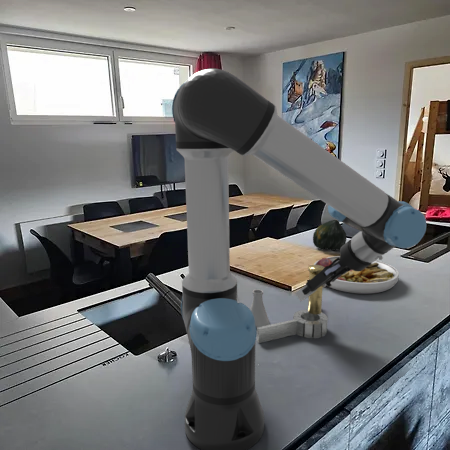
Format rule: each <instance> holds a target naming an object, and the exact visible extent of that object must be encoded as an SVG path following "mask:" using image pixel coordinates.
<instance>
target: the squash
mask: <svg viewBox="0 0 450 450" xmlns="http://www.w3.org/2000/svg"><path fill="white" fill-rule="evenodd" d="M312 243H313V245H314V247H316V248H317V249H319V248H320V250H327V251H328V250H331V251H332V250H333V251H340V248H341V247H342V246H343V245H344V244H345V243H347V233H346V231H345V229H344V228H343V226H342V224H341V222H339V221H338V220H337V219H332V220H329V221H326V222H324V223H322V224H320V225H319V226H317V228H315V230H314V231H313V235H312Z"/></svg>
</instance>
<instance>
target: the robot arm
mask: <svg viewBox="0 0 450 450" xmlns="http://www.w3.org/2000/svg"><path fill="white" fill-rule="evenodd" d="M171 115H172V118H173V122H174V125H175V128H174V130H175V148H176V150H175V151H176V152H178V153H179V154H180V155H181V156H182V157H183V158H184V159H183V160H184V179H185V182H184V183H185V203H186V207H185V208H186V209H185V210H186V230H187V231H186V232H187V251H188V252H187V255H188V258H187V259H188V260H187V261H188V273H187V274H186V275H185V277H184V278H183V279H182V281H181V287H182V289H181V290H182V297H181V300H180V301H181V303H180V313H181V317H182V320H183V323H184V328H185V331H186V335H187V339H188V344H189V348H190V354H191V371H192V372H191V374H192V375H191V377H192V378H191V379H192V390H191V394H190V397H189V399H188V403H187V406H186V409H185V412H184V431H185V434H186V437H187V439H188V440H189V441H190V442H191V444H193V445H194V446H195V447H196V448H197V449H199V450H249V449H250V448H253V446H255V445H256V444H257V443H258V441H260V439H261V438H262V436H263V434H264V430H265V412H264V408H263V406H262V403H261V400H260V398H259V395H258V392H257V390H256V342H257V328H256V325H255V319H254V315H253V313H252V312H251V310H250V308H249V307H248V306H247V305H246V304H245V303H242V302H238V279H237V277H236V275H234V274H233V273H232V272H231V271H230V269H231V268H230V267H231V266H230V265H231V264H230V263H231V262H230V261H231V260H230V259H231V257H230V256H231V255H230V254H231V253H230V199H229V198H230V197H229V196H230V195H229V192H230V191H229V189H230V188H229V183H230V182H229V181H230V180H229V158H230V156H231V155H232V154H233V153H234V152H235V153H237V154H239V155H241V156H242V157H245V156H250V155H251V156H253V157H254V158H256V159H257V160H259V161H260V162H262V163H264V164H265V165H267V166H268V167H269V168H271V169H273V170H274V171H275V172H278V173H279V174H280V175H282V176H283V177H285V178H287V179H289V180H290V181H292V182H293V183H294V184H295V185H297V186H299V187H300V188H302V189H303V190H304V191H306V192H308V193H310V194H311V195H312V196H314V197H315V198H317V199H318V200H320V201H322V202H323V203H324V204H326V205H327V211H328V212H327V213H328V215H329V216H330V217H332V218H333V219H334V220H337V221H339V223H343V224H345V225H347V226H349V227H351V228H352V229H355V230H358V231H359V232H357V233H355V235H354V236H352V237H351V239H349V240H347V241H346V243H345V244H344V245H343V246H342V247H341V248H340V250H339V256H340V258H337V259H335V260H334V261H333V263H332V264H330V265H329V266H326V267H325V268H324V269H323V270H322V271H321V272H320V273H318V274H317V275H316V276H315V277H313V278H312V279H311V280H310V279H309V278H308V279H307V280H306V283H305V285H304V286H302V288H300V289H299V290H298V291H296V292H295V295H296V297H297V299H298V300H299V302H300V303H301V302H303V301H304V300H306V299H308V297H309V296H310V295H311V294H312V293H314V292H315V291H317V289H318V288H319V287H321V286H322V285H323V287H322V290H323V289H324V288H325V287H326V285H327V287H328V288H330V286H331V284H330V283H331V282H334V281H335V280H336V279H337V278H339V277H340V276H342V275H343V274H345V273H346V272H348V271H350V270H354V271H362V270H363V269H365V268H366V267H368V266H369V265H370V264H371V263H372V262H374V261H376V260H378V261H382V260H383V259H384V257H383V256H384V255H385V254H386V253H388V252H390V251H391V250H393V249H394V248H401V249H410V248H412V247H414V246H416V245H418V243H419V242H420V241H421V240H422V239H423V237H424V236H425V234H426V231H427V221H426V216H425V215H424V213H423V212H421V211H420V210H419V209H417V208H415V207H413V206H412V205H411V204H409V203H408V202H406V201H403V200H402V201H399V200H397V199H396V198H394V197H392V196H391V195H389V194H388V193H387V192H385V191H384V190H383V189H381V188H380V187H378V186H377V185H376V184H374V183H373V182H371V181H370V180H368V179H367V178H365V177H364V176H363V175H362V174H360V173H359V172H358V171H356V170H355V169H354V168H352V167H350V166H349V165H348V164H346V163H345V162H343V161H342V160H340V159H339V158H338V157H336V156H335V155H333V154H332V153H330V151H328V150H327V149H325V148H324V147H323V146H321V145H320V144H318V143H317V142H315V141H314V140H312V139H311V138H310V137H309V136H307V135H306V134H305V133H303V132H301V131H300V130H299V129H297V128H296V127H295V126H294V125H292V124H290V123H289V122H287V120H285V119H283V118H282V117H280V115H278V109H277V106H276V105H275V104H274V103H272V102H271V101H270V100H268V99H266V98H265V97H264V96H263V95H262V94H260V93H259V92H258V91H256V90H255V89H253V88H252V87H251V86H250V85H248V84H247V83H246V82H245V81H243V80H242V79H241V78H238V76H236V75H234V74H233V73H231V72H229V71H226V70H225V69H219V68H207V69H206V68H205V69H201V70H199V71H197V72H195V73H194V74H192V75H191V76H189V77H188V78H187V79H186V81H184V82H183V83H182V84H181V85H180V86H179V87H178V89H177V90H176V91H175V94H174V97H173V99H172V103H171ZM325 284H326V285H325Z"/></svg>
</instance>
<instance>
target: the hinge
mask: <svg viewBox="0 0 450 450" xmlns="http://www.w3.org/2000/svg"><path fill="white" fill-rule="evenodd" d="M328 318H329V317H328V316H327V315H326V314H325V313H324V312H322V311H321V313H320V314H311V313H309V312H308V309H301V310H298V311H295V312H294V313H293V319H290V320H286V321H285V320H284V321H282V322H277V323H271V324H270V325H267V326H262V327H258V328H256V332H257V335H256V343H258V344H261V343H265V342H269V341H274V340H278V339H282V338H283V339H284V338H286V337H291V336H294V335H295V336H296V335H297V336H298V337H299V336H300V337H303V338H305V339H319V338H324V337H325V336H327V333H328V322H329V321H328V320H329V319H328Z"/></svg>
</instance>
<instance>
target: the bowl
mask: <svg viewBox="0 0 450 450" xmlns="http://www.w3.org/2000/svg"><path fill="white" fill-rule="evenodd" d="M337 258H340V255H337V256H329V257H321V259H318V260H316V261H315V262H314V263H313V265H321V266H324V267H326V266H329V265H330V264H332V263H333V261H334V260H335V259H337ZM399 277H400V272H399V270H398V269H397V268H396V267H394V266H393V265H391V264H389V263H387V262H384V261H382V260H379V259H377V260H376V261H374V262H372V263H371V264H370V265H369V266H368V267H366V268H365V269H363V270H362V271H354V270H350V271H348V272H346V273H345V274H343V275H342V276H340V277H339V278H337V279H336V280H335V281H334V282H331V283H330V284H331V286H330V287H329V288H330V289H333V290H337V291H340V292H345V293H351V294H362V295H364V294H366V295H367V294H370V295H371V294H377V293H381V292H382V293H383V292H385V291H389V290H390V289H392V288H393V287H394V286H395V285H396V284H397V283H398V281H399ZM325 285H326V284H325ZM326 286H327V285H326ZM326 286H325V287H326ZM327 287H328V286H327Z"/></svg>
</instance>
